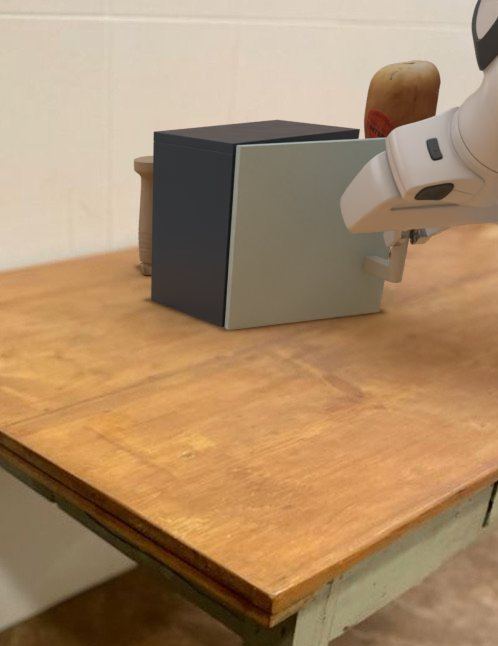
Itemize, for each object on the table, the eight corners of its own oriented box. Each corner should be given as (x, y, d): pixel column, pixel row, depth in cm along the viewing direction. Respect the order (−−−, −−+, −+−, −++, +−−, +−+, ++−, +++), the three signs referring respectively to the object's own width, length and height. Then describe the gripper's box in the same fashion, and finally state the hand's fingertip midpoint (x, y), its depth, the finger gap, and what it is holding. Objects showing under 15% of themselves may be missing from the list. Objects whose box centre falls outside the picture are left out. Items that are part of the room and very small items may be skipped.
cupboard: (336, 301, 104) (360, 129, 93) (221, 333, 93) (233, 143, 83) (263, 279, 113) (277, 119, 102) (150, 306, 102) (153, 131, 92)
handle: (175, 269, 117) (178, 156, 109) (160, 281, 112) (162, 163, 104) (144, 266, 119) (145, 154, 111) (127, 277, 114) (127, 161, 106)
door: (407, 331, 93) (443, 144, 83) (250, 352, 88) (267, 154, 77) (374, 314, 99) (403, 136, 88) (224, 332, 93) (236, 145, 83)
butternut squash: (327, 222, 144) (347, 60, 130) (375, 212, 151) (399, 57, 137) (392, 236, 134) (421, 63, 121) (440, 225, 141) (473, 60, 128)
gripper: (565, 120, 77) (476, 208, 91) (376, 129, 73) (311, 220, 86) (586, 178, 76) (492, 258, 89) (395, 191, 71) (326, 273, 85)
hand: (402, 239), depth 88 cm, fingers closed, pressing on door
